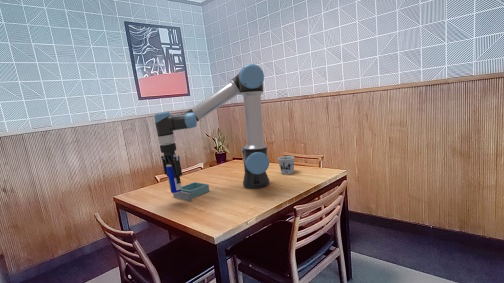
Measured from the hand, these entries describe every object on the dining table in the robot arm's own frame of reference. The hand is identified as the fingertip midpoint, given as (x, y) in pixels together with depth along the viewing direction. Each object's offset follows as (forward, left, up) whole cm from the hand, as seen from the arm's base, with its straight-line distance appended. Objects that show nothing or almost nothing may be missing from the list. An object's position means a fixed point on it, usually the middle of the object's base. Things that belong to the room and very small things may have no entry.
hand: (175, 188), depth 140 cm
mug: (-20, -68, -8) cm, 72 cm away
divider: (+4, -5, -8) cm, 11 cm away
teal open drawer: (+6, -14, -8) cm, 17 cm away
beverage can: (0, 0, -2) cm, 2 cm away
